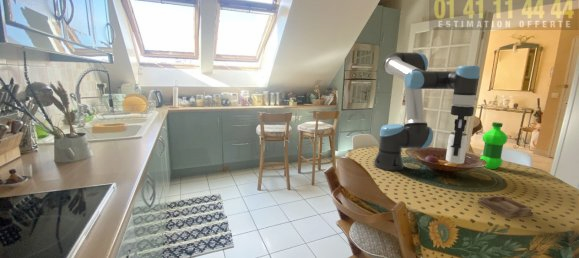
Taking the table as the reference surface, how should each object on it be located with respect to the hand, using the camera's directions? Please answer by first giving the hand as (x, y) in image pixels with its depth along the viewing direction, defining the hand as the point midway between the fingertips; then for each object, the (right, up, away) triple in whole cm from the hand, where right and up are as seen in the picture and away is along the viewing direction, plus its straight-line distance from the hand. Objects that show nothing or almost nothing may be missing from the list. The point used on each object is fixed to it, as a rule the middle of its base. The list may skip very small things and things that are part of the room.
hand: (454, 160), depth 107 cm
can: (0, -1, 0) cm, 1 cm away
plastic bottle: (+42, -8, +35) cm, 56 cm away
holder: (+13, -17, -9) cm, 23 cm away
